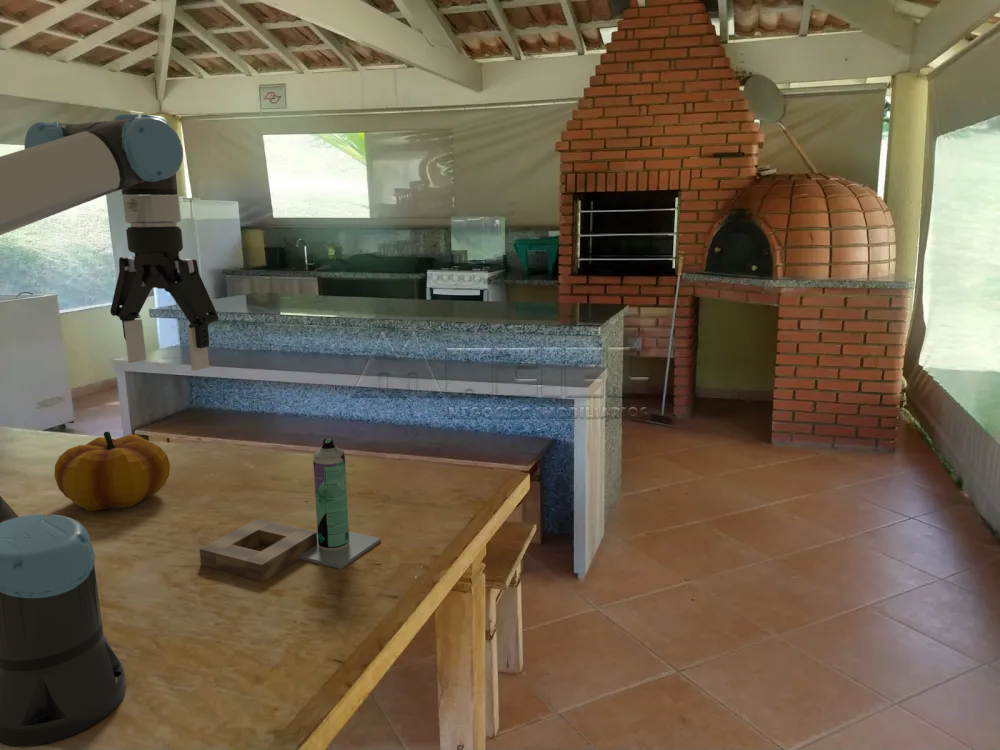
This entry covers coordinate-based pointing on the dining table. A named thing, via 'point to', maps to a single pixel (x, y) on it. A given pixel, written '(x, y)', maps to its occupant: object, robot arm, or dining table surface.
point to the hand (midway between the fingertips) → (168, 365)
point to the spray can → (331, 497)
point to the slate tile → (341, 551)
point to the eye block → (242, 560)
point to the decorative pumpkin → (111, 472)
